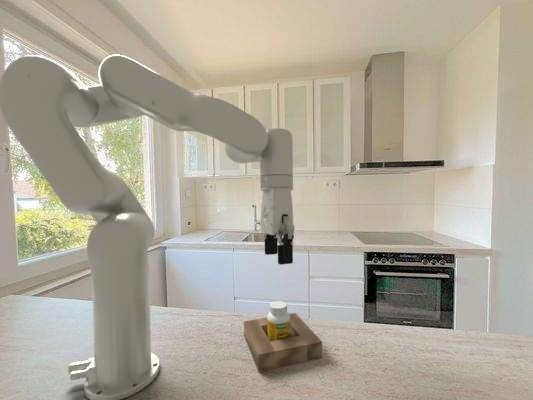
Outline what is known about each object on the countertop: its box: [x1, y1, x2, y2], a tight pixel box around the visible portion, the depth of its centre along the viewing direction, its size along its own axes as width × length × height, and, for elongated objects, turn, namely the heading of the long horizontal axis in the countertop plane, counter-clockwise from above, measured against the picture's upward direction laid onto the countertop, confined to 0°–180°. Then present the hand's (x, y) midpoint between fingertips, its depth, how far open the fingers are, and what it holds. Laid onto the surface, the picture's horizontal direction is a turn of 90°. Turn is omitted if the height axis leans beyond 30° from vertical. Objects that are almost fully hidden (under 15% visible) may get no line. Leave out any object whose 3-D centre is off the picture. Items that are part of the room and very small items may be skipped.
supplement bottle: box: [266, 300, 291, 342], centre depth 57 cm, size 5×5×10 cm
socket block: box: [243, 312, 323, 373], centre depth 57 cm, size 14×14×4 cm
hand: (277, 258), depth 57 cm, fingers open, 9 cm apart
